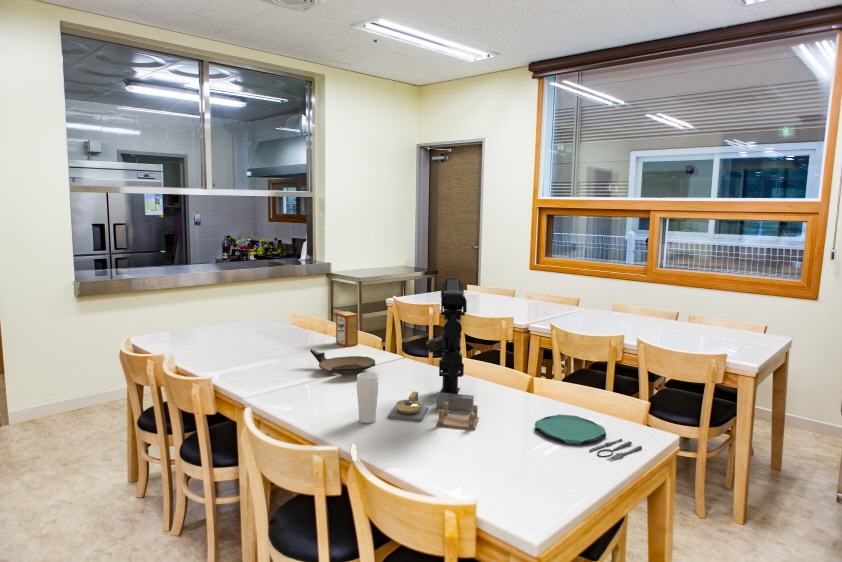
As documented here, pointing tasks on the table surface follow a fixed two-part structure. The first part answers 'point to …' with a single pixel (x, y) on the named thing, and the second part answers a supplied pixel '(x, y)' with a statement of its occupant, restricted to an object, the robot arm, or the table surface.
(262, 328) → the table surface
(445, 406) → the peg rack
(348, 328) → the baking soda box
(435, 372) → the table surface
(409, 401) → the gold low rounded piece
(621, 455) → the cutlery set
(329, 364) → the frying pan
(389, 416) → the nut base
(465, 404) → the bar
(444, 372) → the robot arm
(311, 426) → the table surface
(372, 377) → the drinking glass
